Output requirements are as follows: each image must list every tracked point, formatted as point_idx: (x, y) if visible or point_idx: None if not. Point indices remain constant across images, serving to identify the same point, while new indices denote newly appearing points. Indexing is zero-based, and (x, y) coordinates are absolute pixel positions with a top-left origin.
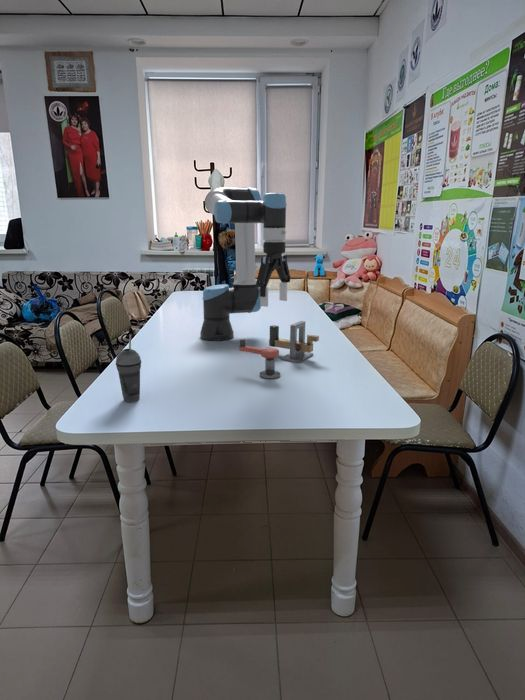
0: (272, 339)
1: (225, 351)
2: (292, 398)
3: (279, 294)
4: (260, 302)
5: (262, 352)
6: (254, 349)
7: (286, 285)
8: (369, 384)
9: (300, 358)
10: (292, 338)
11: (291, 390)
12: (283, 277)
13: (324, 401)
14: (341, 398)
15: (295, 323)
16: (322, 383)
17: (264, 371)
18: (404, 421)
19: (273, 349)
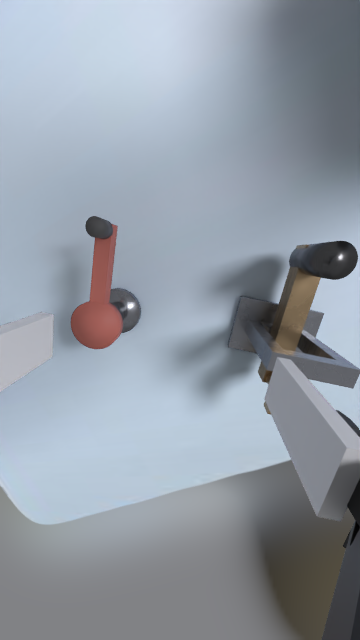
0: (298, 259)
1: (273, 96)
2: (33, 381)
3: (290, 375)
4: (26, 318)
5: (75, 310)
6: (92, 278)
7: (312, 489)
8: (149, 478)
9: (248, 345)
10: (257, 343)
11: (65, 370)
12: (343, 574)
13: (47, 426)
14: (71, 446)
15: (304, 362)
16: (121, 411)
17: (124, 295)
18: (38, 515)
19: (106, 331)
